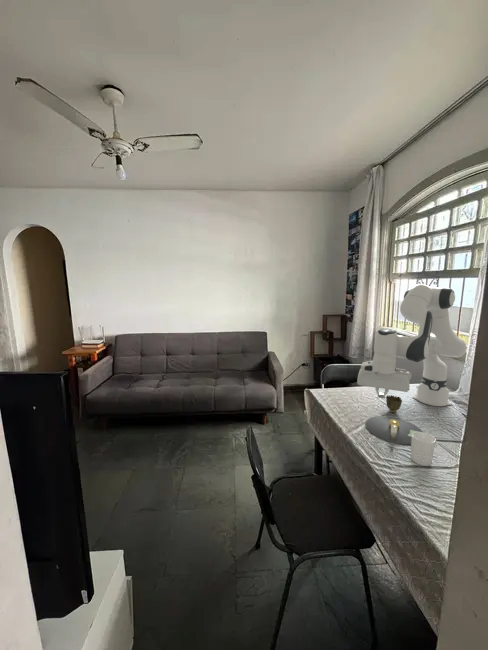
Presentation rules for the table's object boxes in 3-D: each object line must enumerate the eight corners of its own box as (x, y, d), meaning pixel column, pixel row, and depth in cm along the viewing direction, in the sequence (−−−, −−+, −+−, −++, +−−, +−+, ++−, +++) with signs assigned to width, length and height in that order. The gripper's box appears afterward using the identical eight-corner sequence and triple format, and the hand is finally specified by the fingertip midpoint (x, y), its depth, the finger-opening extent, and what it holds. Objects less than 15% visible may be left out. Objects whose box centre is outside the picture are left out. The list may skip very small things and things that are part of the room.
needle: (388, 424, 134) (389, 412, 134) (399, 426, 132) (400, 414, 131) (387, 439, 122) (388, 426, 121) (398, 441, 120) (400, 428, 119)
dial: (368, 413, 148) (368, 411, 148) (422, 424, 136) (422, 423, 136) (362, 435, 127) (363, 433, 127) (425, 451, 116) (425, 448, 115)
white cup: (407, 452, 115) (410, 429, 113) (430, 457, 112) (433, 433, 110) (410, 464, 108) (413, 440, 106) (435, 469, 105) (438, 444, 103)
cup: (402, 416, 145) (404, 401, 144) (387, 414, 147) (388, 400, 145) (398, 409, 152) (399, 395, 151) (383, 408, 154) (384, 394, 152)
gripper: (411, 368, 118) (407, 398, 121) (358, 362, 127) (356, 391, 129) (412, 372, 113) (409, 404, 115) (358, 365, 121) (355, 396, 123)
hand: (381, 397), depth 122 cm, fingers closed
